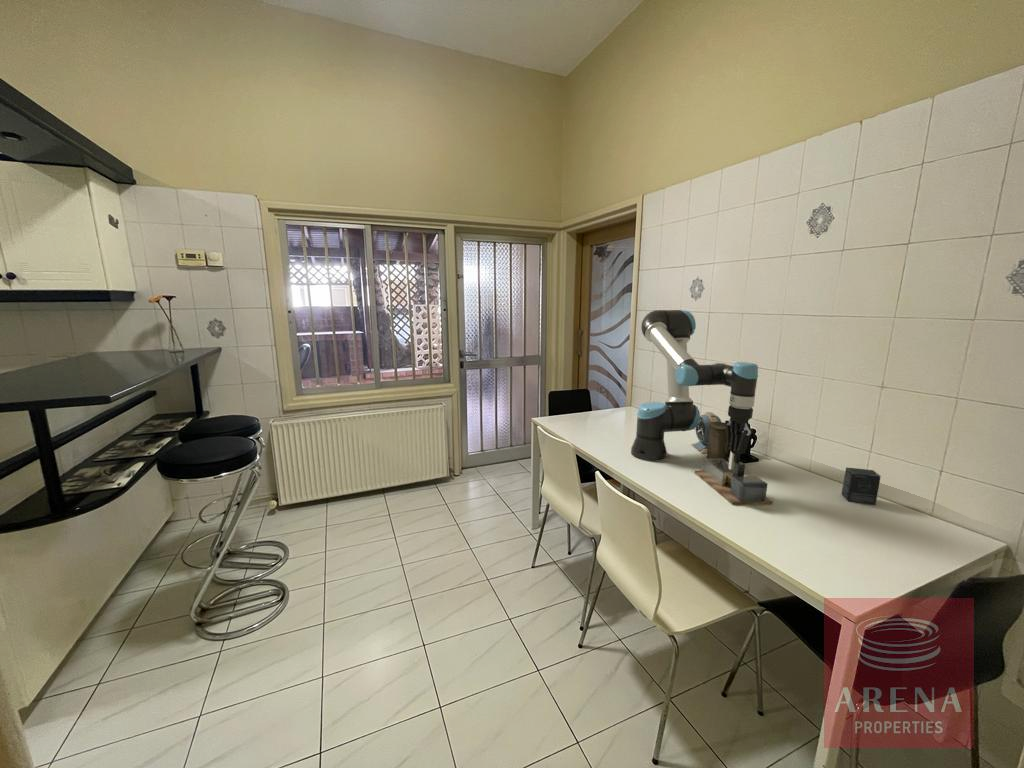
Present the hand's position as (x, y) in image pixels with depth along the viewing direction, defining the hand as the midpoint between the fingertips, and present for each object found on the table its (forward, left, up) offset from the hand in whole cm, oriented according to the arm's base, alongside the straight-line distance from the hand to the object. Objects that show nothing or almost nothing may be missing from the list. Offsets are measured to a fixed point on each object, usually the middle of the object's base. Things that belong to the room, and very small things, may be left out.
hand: (733, 468), depth 146 cm
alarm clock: (-39, +12, -8) cm, 42 cm away
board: (0, 0, -7) cm, 7 cm away
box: (+11, +39, -8) cm, 41 cm away
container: (-20, +6, -8) cm, 23 cm away
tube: (+4, 0, -6) cm, 8 cm away
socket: (+10, 0, -6) cm, 12 cm away
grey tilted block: (-6, 0, -6) cm, 9 cm away
